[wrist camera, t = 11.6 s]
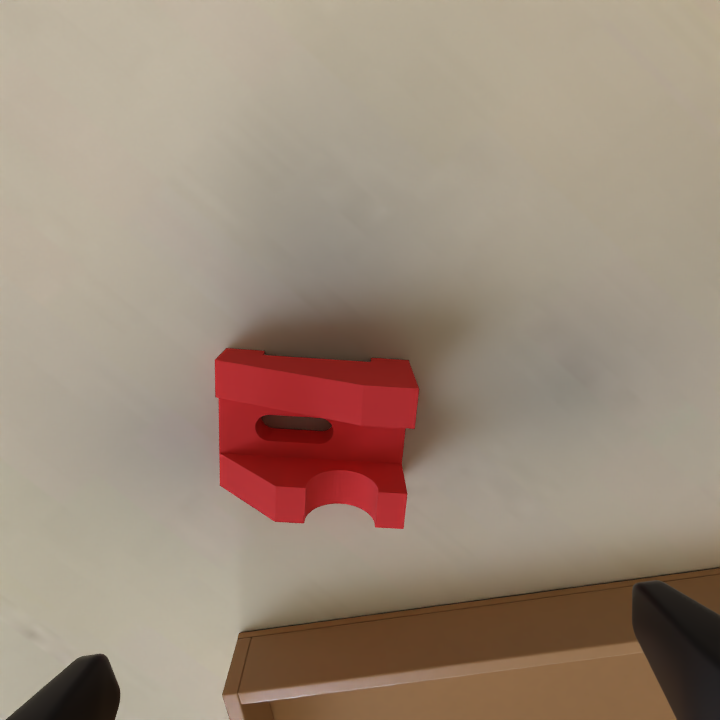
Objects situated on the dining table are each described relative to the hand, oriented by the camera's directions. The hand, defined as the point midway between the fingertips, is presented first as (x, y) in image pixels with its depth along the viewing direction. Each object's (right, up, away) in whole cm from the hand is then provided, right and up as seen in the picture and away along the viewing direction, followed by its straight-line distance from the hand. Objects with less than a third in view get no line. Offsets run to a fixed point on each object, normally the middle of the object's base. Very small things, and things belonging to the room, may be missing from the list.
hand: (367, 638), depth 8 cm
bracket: (-2, +3, +10) cm, 10 cm away
